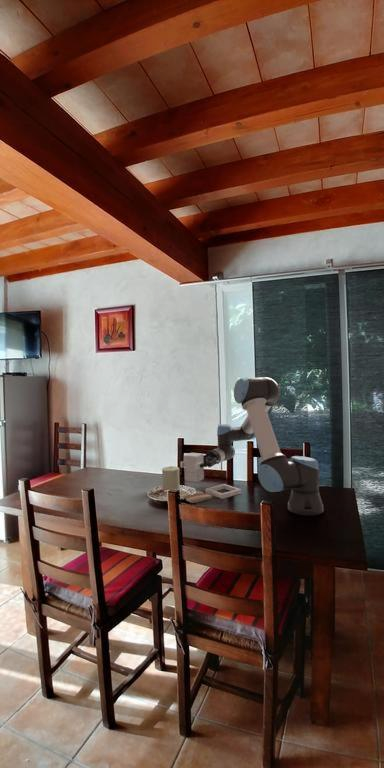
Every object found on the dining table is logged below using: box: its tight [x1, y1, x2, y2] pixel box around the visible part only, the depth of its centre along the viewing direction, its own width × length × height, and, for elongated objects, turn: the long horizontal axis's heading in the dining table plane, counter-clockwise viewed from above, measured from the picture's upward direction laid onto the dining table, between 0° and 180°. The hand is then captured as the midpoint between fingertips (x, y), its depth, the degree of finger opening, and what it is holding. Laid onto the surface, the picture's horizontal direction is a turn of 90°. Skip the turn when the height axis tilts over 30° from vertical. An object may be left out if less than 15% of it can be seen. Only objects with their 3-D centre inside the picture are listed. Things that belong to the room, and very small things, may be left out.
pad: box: [179, 489, 213, 504], centre depth 196 cm, size 12×12×1 cm
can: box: [161, 466, 181, 493], centre depth 209 cm, size 9×9×12 cm
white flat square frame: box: [204, 483, 242, 500], centre depth 202 cm, size 13×13×2 cm
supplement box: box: [183, 452, 205, 483], centre depth 196 cm, size 7×7×13 cm
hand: (188, 466), depth 192 cm, fingers closed on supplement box, 8 cm apart
